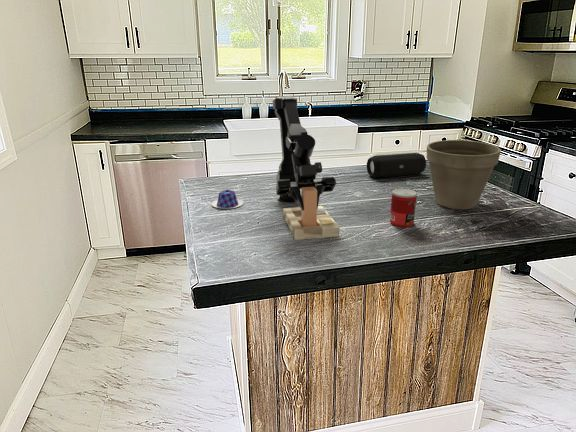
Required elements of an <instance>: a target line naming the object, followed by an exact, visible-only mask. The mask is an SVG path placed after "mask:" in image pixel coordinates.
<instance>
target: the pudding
mask: <svg viewBox="0 0 576 432" xmlns="http://www.w3.org/2000/svg"><path fill="white" fill-rule="evenodd" d="M244 202H245V201H244V200H243V199H241V198H240V199H239V198H237V195H236V192H235V191H234V190H231V189H223V190H221V191H219V193H218V198H217V199H216V200H215V199H214V201H212V202H211V206H212V207H214V208H217V209H222V210H223V209H226V210H227V209H235V208H238V207H242V206H243V205H244Z"/></svg>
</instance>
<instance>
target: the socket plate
mask: <svg viewBox="0 0 576 432" xmlns="http://www.w3.org/2000/svg"><path fill="white" fill-rule="evenodd" d="M282 213H283V214H282V215H283V216H282V217H283V219H284V221H285V223H286V225H287V227H288V228H289V230H290V232H291V234H292V236H293V238H294V240H295V241H298V240H299V241H301V240H311V239H323V238H334V237H336V238H337V237H340V231H341V230H340V226H339V224H338V223H337V222H336V221H335V220H334V218H332V216H331V215H330V213H328V211H327V210H326V208H325V207H324V206H323V205H318V209H317V226H312V227H302V226H301V208H300V207H299V206H298V207H288V208H287V207H286V208H285V207H284V208H283V209H282Z"/></svg>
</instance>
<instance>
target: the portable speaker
mask: <svg viewBox="0 0 576 432" xmlns="http://www.w3.org/2000/svg"><path fill="white" fill-rule="evenodd" d="M426 167H427V158H426V157H425V155H424V154H423V153H419V152H405V153H404V152H403V153H392V154H376V155H373V156H371V157H369V158H368V159H367V162H366V170H367V171H366V172H367V174H368V176H370V177H373V178H376V179H377V178H378V179H379V178H389V177H392V178H393V177H405V176H415V175H419V174H421V173H424V172H425V170H426Z"/></svg>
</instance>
